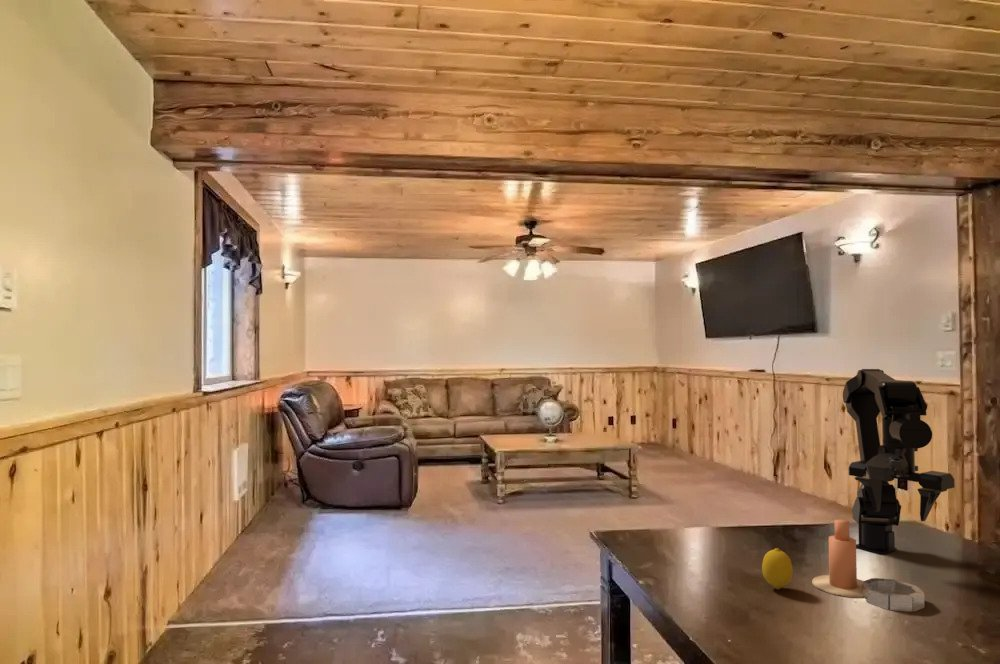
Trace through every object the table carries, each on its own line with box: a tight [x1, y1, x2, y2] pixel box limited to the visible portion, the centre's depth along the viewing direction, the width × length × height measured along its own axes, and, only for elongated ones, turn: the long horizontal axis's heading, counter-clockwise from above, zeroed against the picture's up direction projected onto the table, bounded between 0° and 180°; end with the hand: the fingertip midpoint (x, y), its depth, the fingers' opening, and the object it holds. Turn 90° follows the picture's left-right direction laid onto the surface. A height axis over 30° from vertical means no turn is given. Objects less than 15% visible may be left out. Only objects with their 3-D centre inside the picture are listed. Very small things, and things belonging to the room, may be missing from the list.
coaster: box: [811, 574, 864, 598], centre depth 130 cm, size 11×11×1 cm
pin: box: [828, 519, 858, 589], centre depth 130 cm, size 5×5×12 cm
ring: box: [862, 577, 926, 613], centre depth 122 cm, size 9×9×2 cm
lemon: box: [761, 547, 794, 590], centre depth 129 cm, size 6×6×8 cm
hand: (899, 516), depth 137 cm, fingers open, 9 cm apart
